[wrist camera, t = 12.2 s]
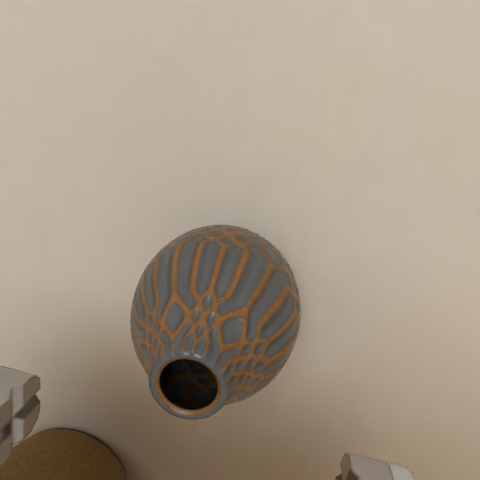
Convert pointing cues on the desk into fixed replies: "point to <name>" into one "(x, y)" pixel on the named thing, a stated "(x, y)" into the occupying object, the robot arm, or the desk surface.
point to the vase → (214, 319)
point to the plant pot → (61, 458)
